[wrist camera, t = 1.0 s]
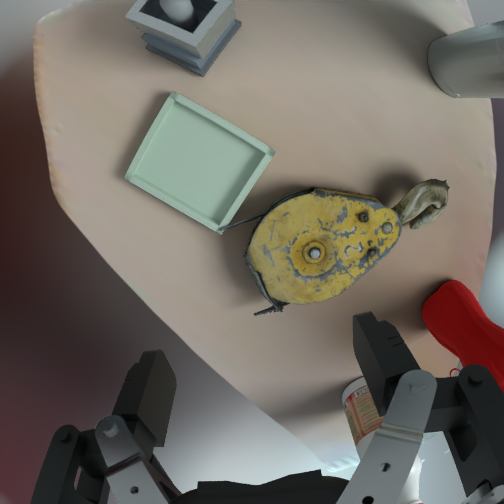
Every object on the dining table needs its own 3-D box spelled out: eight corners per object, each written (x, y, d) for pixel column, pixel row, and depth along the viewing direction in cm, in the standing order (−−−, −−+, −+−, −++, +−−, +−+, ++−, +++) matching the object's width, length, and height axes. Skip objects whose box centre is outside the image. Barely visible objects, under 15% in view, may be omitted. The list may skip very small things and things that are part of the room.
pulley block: (467, 252, 33) (257, 334, 36) (445, 240, 38) (256, 312, 42) (449, 147, 29) (211, 227, 32) (426, 147, 34) (217, 217, 38)
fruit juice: (365, 367, 48) (420, 503, 22) (395, 380, 50) (448, 498, 24) (330, 398, 51) (365, 530, 25) (362, 409, 53) (399, 524, 27)
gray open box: (172, -10, 21) (161, -29, 17) (235, 17, 23) (234, -1, 19) (140, 31, 23) (124, 17, 19) (203, 59, 25) (195, 47, 21)
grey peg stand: (185, 0, 26) (164, -44, 15) (241, 25, 28) (241, -16, 17) (148, 50, 28) (111, 22, 18) (203, 76, 30) (185, 53, 19)
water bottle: (405, 312, 44) (484, 430, 21) (453, 269, 41) (552, 364, 18) (423, 340, 46) (489, 444, 23) (467, 301, 44) (547, 391, 21)
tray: (175, 92, 31) (172, 90, 29) (274, 150, 34) (276, 151, 32) (129, 175, 34) (123, 178, 33) (222, 230, 37) (221, 235, 36)
